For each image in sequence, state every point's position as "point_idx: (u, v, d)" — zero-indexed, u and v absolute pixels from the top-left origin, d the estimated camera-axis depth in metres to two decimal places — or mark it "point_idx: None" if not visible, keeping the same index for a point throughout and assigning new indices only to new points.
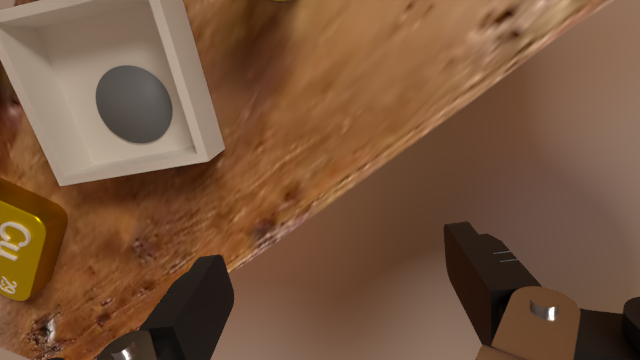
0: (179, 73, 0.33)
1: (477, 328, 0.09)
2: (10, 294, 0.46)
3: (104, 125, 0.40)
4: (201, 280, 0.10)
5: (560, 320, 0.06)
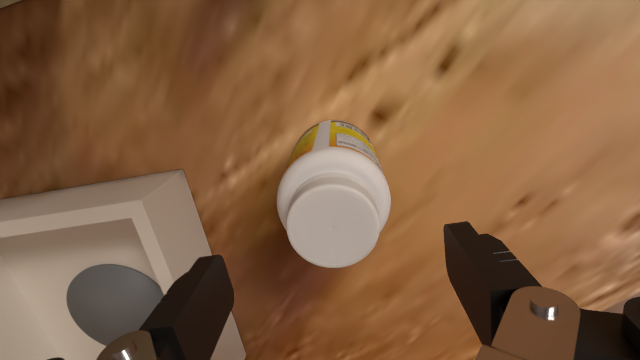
0: None
1: (477, 328, 0.09)
2: None
3: (80, 328, 0.29)
4: (201, 280, 0.10)
5: (560, 320, 0.06)
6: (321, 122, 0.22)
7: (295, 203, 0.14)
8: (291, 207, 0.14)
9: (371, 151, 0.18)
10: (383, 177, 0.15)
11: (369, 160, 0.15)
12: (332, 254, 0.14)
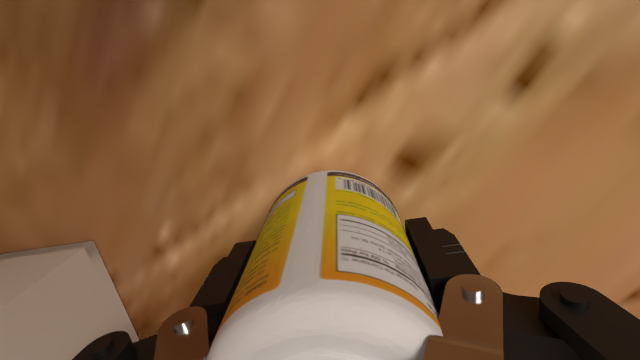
0: None
1: None
2: None
3: None
4: (243, 263, 0.11)
5: (483, 303, 0.07)
6: (311, 174, 0.13)
7: None
8: None
9: (407, 253, 0.09)
10: None
11: (416, 314, 0.06)
12: None
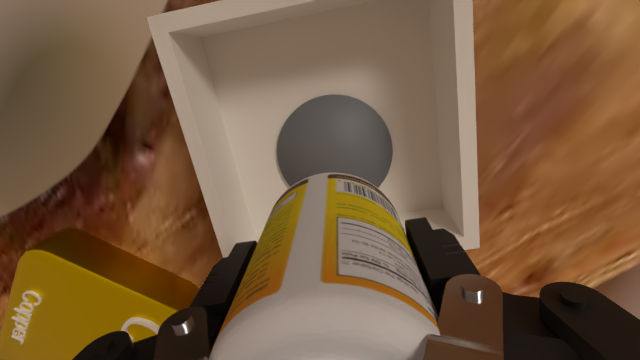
0: (471, 115, 0.20)
1: None
2: None
3: (281, 180, 0.27)
4: (243, 263, 0.11)
5: (483, 303, 0.07)
6: (312, 176, 0.13)
7: None
8: None
9: (407, 256, 0.09)
10: None
11: (417, 317, 0.06)
12: None
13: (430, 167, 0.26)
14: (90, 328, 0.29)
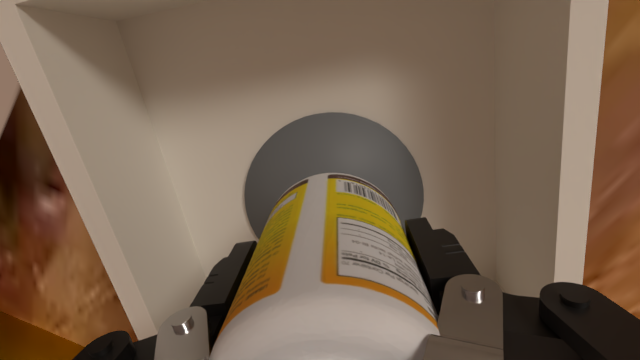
0: (585, 158, 0.11)
1: None
2: None
3: (253, 239, 0.18)
4: (243, 263, 0.11)
5: (483, 302, 0.07)
6: (312, 177, 0.13)
7: None
8: None
9: (407, 256, 0.09)
10: None
11: (417, 318, 0.06)
12: None
13: (480, 222, 0.17)
14: None
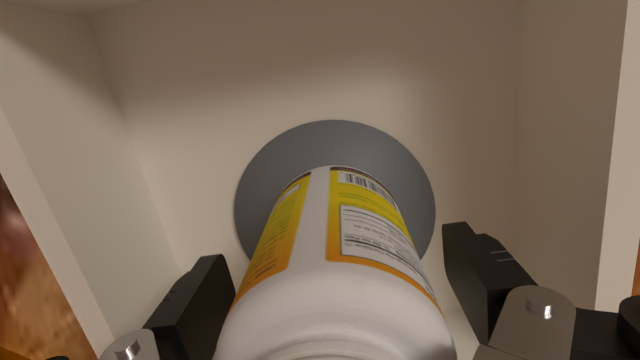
0: (638, 178, 0.09)
1: (474, 327, 0.09)
2: None
3: (244, 260, 0.16)
4: (203, 279, 0.10)
5: (556, 319, 0.07)
6: (315, 169, 0.13)
7: None
8: None
9: (406, 242, 0.09)
10: (445, 329, 0.07)
11: (415, 293, 0.07)
12: None
13: None
14: None
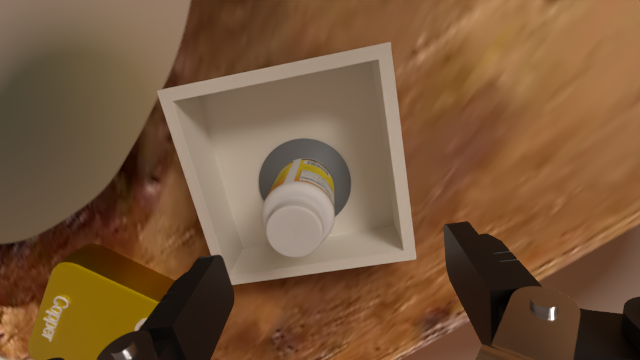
0: (401, 158, 0.27)
1: (477, 328, 0.09)
2: None
3: None
4: (201, 280, 0.10)
5: (560, 320, 0.06)
6: (295, 160, 0.31)
7: (270, 217, 0.22)
8: (268, 219, 0.23)
9: (325, 182, 0.27)
10: (328, 200, 0.24)
11: (319, 189, 0.24)
12: (294, 248, 0.23)
13: (382, 193, 0.33)
14: (108, 327, 0.35)
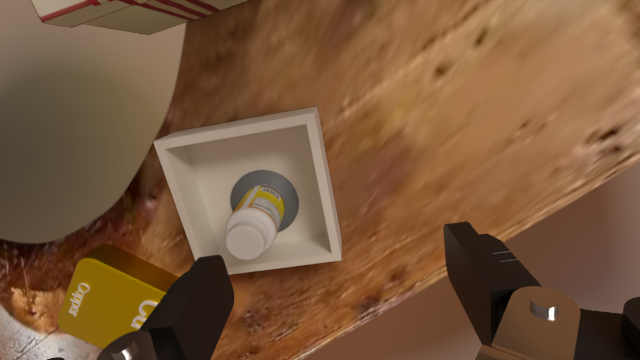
0: (326, 190, 0.38)
1: (477, 328, 0.09)
2: None
3: None
4: (201, 280, 0.10)
5: (560, 320, 0.06)
6: (256, 186, 0.42)
7: (228, 233, 0.34)
8: (227, 235, 0.34)
9: (272, 206, 0.38)
10: (270, 220, 0.36)
11: (264, 213, 0.35)
12: (245, 254, 0.34)
13: (322, 210, 0.44)
14: (119, 307, 0.47)
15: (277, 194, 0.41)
